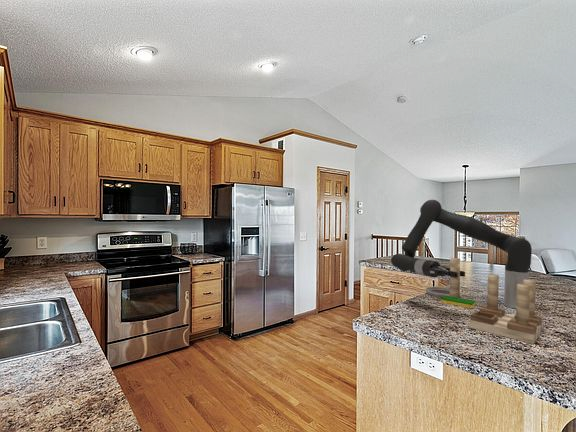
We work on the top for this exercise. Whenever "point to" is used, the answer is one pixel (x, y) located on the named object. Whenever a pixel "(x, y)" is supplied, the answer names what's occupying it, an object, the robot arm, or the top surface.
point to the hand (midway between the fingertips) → (460, 274)
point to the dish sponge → (458, 301)
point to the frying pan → (438, 291)
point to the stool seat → (511, 326)
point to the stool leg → (455, 281)
